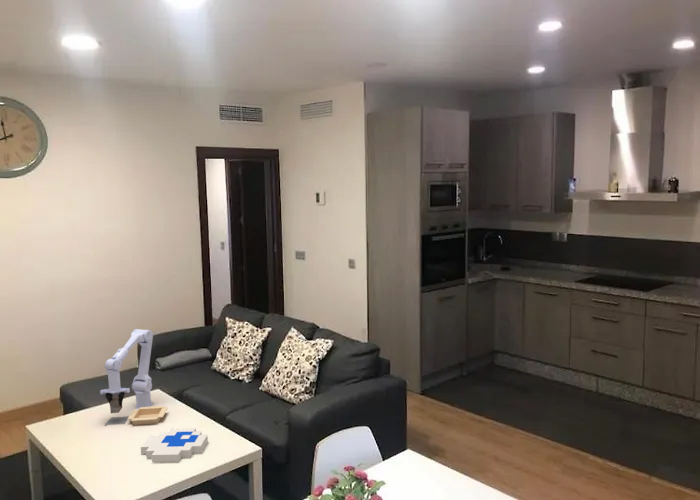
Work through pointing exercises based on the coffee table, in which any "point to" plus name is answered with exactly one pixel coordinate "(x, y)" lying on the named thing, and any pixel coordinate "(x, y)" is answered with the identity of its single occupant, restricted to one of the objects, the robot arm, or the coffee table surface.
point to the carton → (147, 414)
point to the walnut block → (115, 405)
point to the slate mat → (116, 420)
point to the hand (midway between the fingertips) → (116, 406)
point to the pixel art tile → (174, 445)
